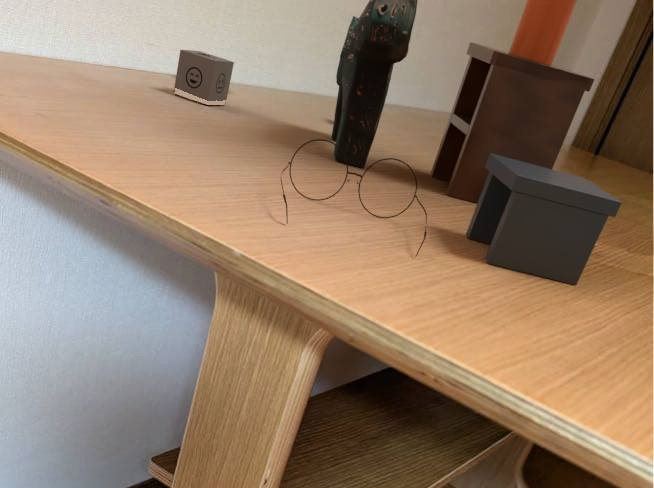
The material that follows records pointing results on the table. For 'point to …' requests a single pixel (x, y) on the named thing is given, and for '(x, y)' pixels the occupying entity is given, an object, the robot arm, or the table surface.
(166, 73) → the table surface
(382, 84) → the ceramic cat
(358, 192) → the eyeglasses
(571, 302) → the table surface
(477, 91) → the tall shelf
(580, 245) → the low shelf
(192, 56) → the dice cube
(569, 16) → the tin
